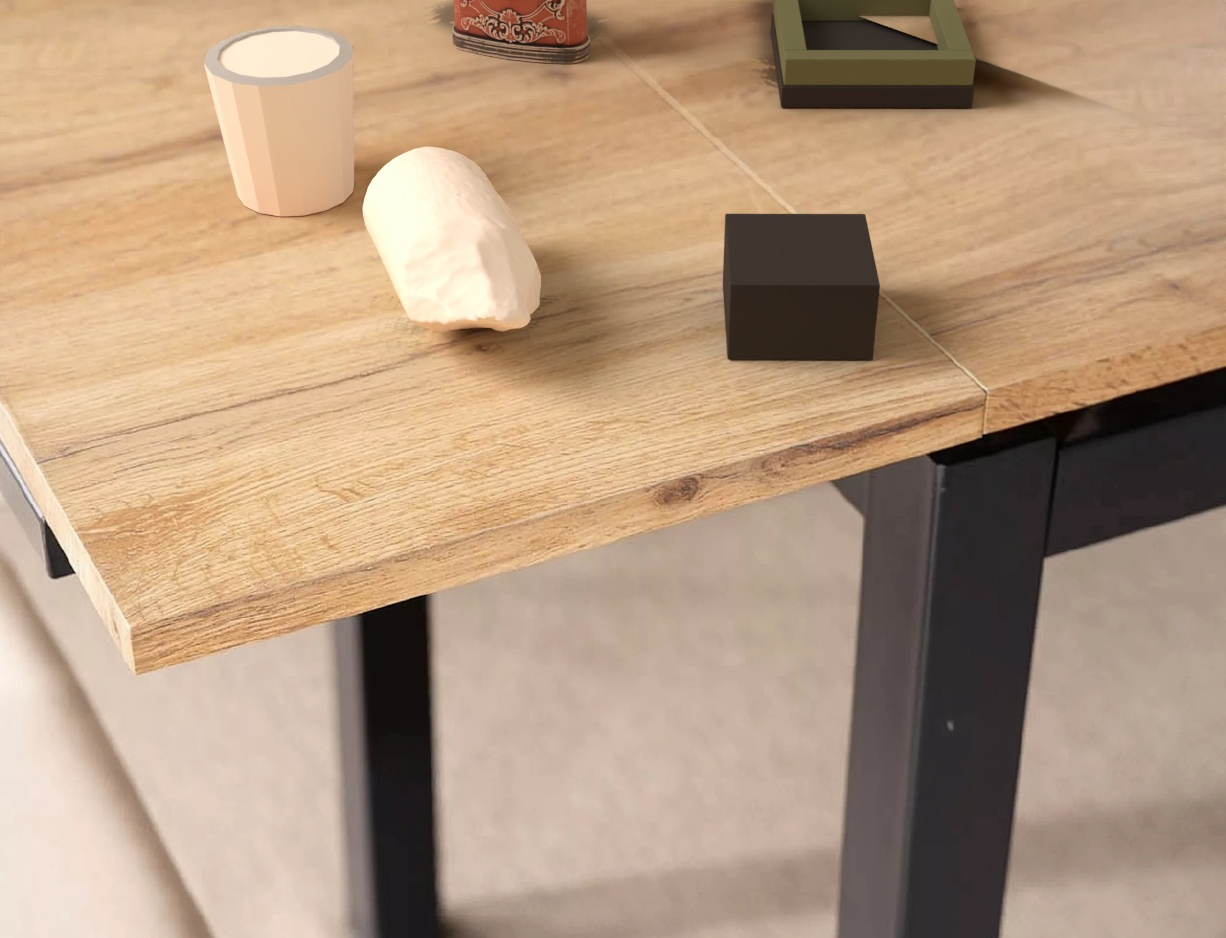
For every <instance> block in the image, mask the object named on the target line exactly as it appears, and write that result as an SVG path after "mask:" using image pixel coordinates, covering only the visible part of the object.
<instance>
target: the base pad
mask: <svg viewBox="0 0 1226 938" xmlns="http://www.w3.org/2000/svg"><path fill="white" fill-rule="evenodd" d="M772 10H773V11H772V12H771V14H770V32H769V33H770V39H771V46H772V53H773V61H774V68H775V75H776V82H777V89H778V96H779V104H780V108H784V109H785V108H787V109H794V108H795V109H972V108H973V103H974V97H975V96H974V95H975V85H974V77H975V68H976V60H977V59H976V57H975V54H974V51H973V48H972V45H971V43H970V40H969V38H968V34H967V32H966V29H965V26H964V24H963V21H962V18H961V16H960V13H959V10H958V7H957V5H956V2H955V0H773V9H772ZM865 17H929V20H930V21H929V22H930V23H931V27H932V30H933V32H934V36H935V39H936V42H933V41H930V40H927V39H924V38H921V37H918V36H915V35H913V34H910V33H907V32H904V31H901V30H899V29H896V28H893V27H891V26H887V25H885V24H882V23H879V22H877V21H873V20H871V19H868V18H865Z"/></svg>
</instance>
